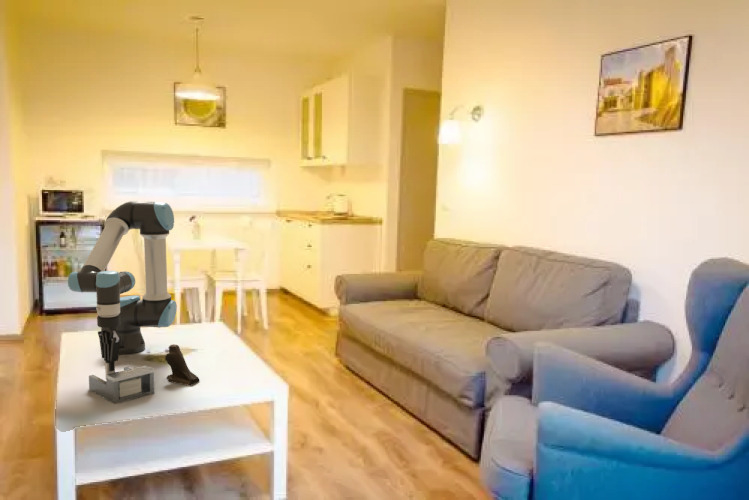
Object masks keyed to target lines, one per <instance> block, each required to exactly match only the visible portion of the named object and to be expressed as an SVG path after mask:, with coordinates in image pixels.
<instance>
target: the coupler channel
mask: <svg viewBox="0 0 749 500" xmlns="http://www.w3.org/2000/svg"><path fill="white" fill-rule="evenodd" d="M136 376H138V377H140V378H141V392H139V393H135V394H131V395H127V396H123V397H119V381H120V380H124V379H128V378H132V377H136ZM88 390H89V391H91V392H93V393H94V394H97V395H98V396H100V397H102V398H103V397H104V398H103V399H105V400H107V401H109V402H110V401H111V402H110V403H113V404H114V405H115V404H119V403H123V402H127V401H130V400H134V399H137V398H140V397H145V396H149V395H153V394H155V369H154V368H153V367H150V366H148V365H141V366H138V367H134V368H131V367H129V366H126V367H123V370H119V371H115V373H110V374H106V373H105V380H104V379H103V378H100V377H99V376H96V374H95V375H94V374H91V375H88Z"/></svg>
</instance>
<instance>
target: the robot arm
mask: <svg viewBox="0 0 749 500" xmlns="http://www.w3.org/2000/svg"><path fill="white" fill-rule="evenodd" d="M174 223H175V215H174V212H173V208H172V207H171V205H170V204H168V203H167V202H163V201H162V202H161V201H137V200H136V201H135V200H131V201H128V202H127V201H126V202H124V203H123V204H120V205H119V206H117V207H116V208H115V209H113V210H112V211H111V212H110V213H109V215H108V216H107V217H106V219H105V221H104V223H103V224H104V229H103V230H102V232H101V234H100V236H98V239H97V241H96V242H95V244H94V246H93V248H91V249H92V250H91V251H90V253H89V255H88V257H87V259H86V260H85V262H84V264H83V265H82V268H80V271H79V270H76V271H72V272H70V274H69V275H68V279H67V286H68V288H69V290H71V291H72V292H77V293H96V308H95V309H96V315H97V317H96V323H97V327H98V328H100V330H99V331H97V334H98V339H99V345H100V347H99V348H100V354H101V359H103V360H104V363H105V365H104V366H105V368H104V369H105V370H104V371H105V375H106V374H110V373H115V372H116V365H115V364H116V362H118V361H119V355H129V354H136V353H140V352H142V351H144V350H145V349H146V342H145V340H144V336H143V334H142V332H141V331H142V330H141V327H143V328H159V329H160V328H169V327H170V326H172V324H173V323H174V321H175V318H176V315H177V307H178V306H177V302H176V300H172V295H171V294H170V293H169V291H168V271H167V241H166V238H167V237H168V236H169V235H170V231H171V230H173V229H174V227H175V226H174V225H175V224H174ZM130 230H139V235H140V236H141V237H142V238H143V243H144V244H143V247H144V249H143V250H144V272H145V294H144V295H142V297H140V295H135V294H134V295H126V296H121V295H122V294H124V293H128V292H130V290H132V289H134V287H135V284H136V278H135V276H134V275H133V273H132V272H130V271H127V270H126V271H119V272H118V271H116V270H106V269H107V267H108V265H109V264H110V262H111V260H112V258H113V255H114V254H115V252H116V250H117V248H118V246H119V244H120V242H121V241H122V238H123V237H124V236H125V235H126V236H127V234H128V232H129V231H130ZM141 298H142V299H141Z"/></svg>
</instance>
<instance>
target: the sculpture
mask: <svg viewBox="0 0 749 500" xmlns="http://www.w3.org/2000/svg"><path fill="white" fill-rule="evenodd" d="M168 352H169V353H167V354H166V355H165V357H164V358H165V362H166V364H168V365H169V367H170V369H171V374H168V375H167V376H166V380H167V382H169V383H170V382H171V383H174V382H175V383H174V384H180V385H184V386H193V385H195V384H197V383H199V382H200V377H199V376H197V375H196V374H195V373H193V372H192V371H191V370H190V368H189V367H188V365H187V362H186V359H185V358H184V355H183V353H182V351H181V348H180V345H178V344H170V345H169V346H168Z"/></svg>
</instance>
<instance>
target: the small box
mask: <svg viewBox="0 0 749 500" xmlns="http://www.w3.org/2000/svg"><path fill="white" fill-rule="evenodd" d="M139 392H141V378H140V377H138V376H136V377H132V378H128V379H124V380H120V381H119V397H123V396H127V395H131V394H135V393H139Z"/></svg>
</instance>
